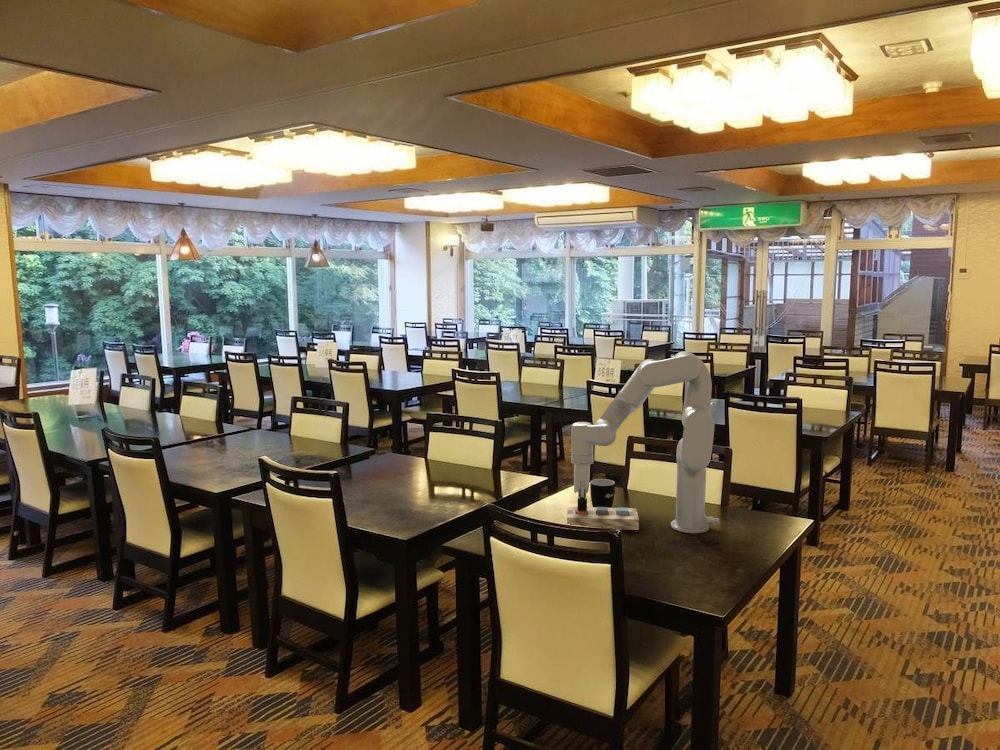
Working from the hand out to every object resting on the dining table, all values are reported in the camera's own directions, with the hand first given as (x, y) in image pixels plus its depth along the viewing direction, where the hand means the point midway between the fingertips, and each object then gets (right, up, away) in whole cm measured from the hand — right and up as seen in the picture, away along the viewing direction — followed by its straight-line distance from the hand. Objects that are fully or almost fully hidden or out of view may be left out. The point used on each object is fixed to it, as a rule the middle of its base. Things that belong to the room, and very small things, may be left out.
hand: (582, 509), depth 250 cm
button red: (0, -3, 0) cm, 3 cm away
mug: (+10, -3, +18) cm, 20 cm away
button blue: (+14, -2, -1) cm, 14 cm away
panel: (+7, -5, 0) cm, 8 cm away
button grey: (+7, -2, 0) cm, 7 cm away
